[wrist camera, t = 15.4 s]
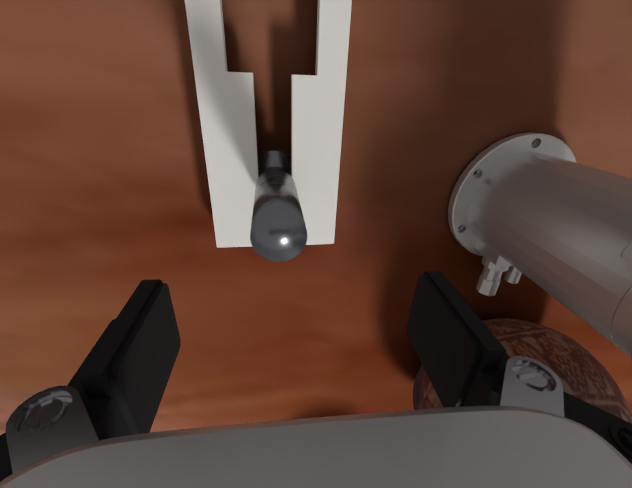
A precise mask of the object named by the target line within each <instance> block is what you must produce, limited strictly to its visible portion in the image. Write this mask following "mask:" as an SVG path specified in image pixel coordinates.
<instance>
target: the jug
mask: <svg viewBox="0 0 632 488" xmlns="http://www.w3.org/2000/svg"><path fill="white" fill-rule="evenodd" d="M482 322H483V323H484V324H485V325H486V326H487V328H488V329H489V330H490V331H491V332H492V333H493V335H494V336H495V337H496V338H497V339H498V341H499V342H500V343H501V344H502V345H503V347H504V348H505V349H506V353H507V354H508V355H509V356H510V358H512V357H515V356H523V357H528V358H532V359H535V360H537V361H539V362H541V363H543V364H544V365H546V366H547V367H549V368H550V369H551V370H552V371H553V372H554V373H555V374H556V375H557V376H558V377H559V379H560V380H561V382H562V386H563V391H564V392H566V393H568V394H571V395H573V396H575V397H577V398H579V399H581V400H583V401H585V402H587V403H589V404H592V405H594V406H596V407H598V408H600V409H602V410H604V411H606V412H608V413H610V414H612V415H615V416H617V417H619V418H621V419H623V420H625V421H627V422H629V423H631V424H632V417H631V414H630V411H629V408H628V405H627V402H626V400H625V398H624V396H623V394H622V393H621V391H620V389H619V387H618V385H617V384H616V382H615V381H614V380H613V378H612V377H611V375H610V374H609V373H608V371H607V370H606V369H605V367H604V366H603V365H602V364H601V363H600V362H599V361H598V360H597V359H596V358H595V357H594V356H593V355H592V354H591V353H589V352H588V351H587V350H586V349H585V348H583V347H582V346H581V345H580V344H578V343H577V342H576V341H575V340H573V339H571V338H570V337H568V336H566V335H564V334H562V333H560V332H558V331H556V330H553V329H551V328H549V327H546V326H543V325H540V324H536V323H532V322H529V321H525V320H516V319H490V320H483V321H482ZM413 403H414V410H419V409H432V408H444V407H443V405H442V404H441V402H440V400H439V398H438V396H437V394H436V392H435V390H434V388H433V386H432V384H431V382H430V380H429V378H428V376H427V374H426V372H425V370H424V368H423V366H422V364H421V366H420V369H419V371H418V373H417V375H416V379H415V382H414V388H413Z"/></svg>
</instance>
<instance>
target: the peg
mask: <svg viewBox="0 0 632 488" xmlns="http://www.w3.org/2000/svg"><path fill="white" fill-rule="evenodd" d="M257 156H258V176H259V178H258V180H257V182H256V188H255V196H254V205H253V214H252V223H251V232H250V240H251V244H252V247H253V248H254V250H255V251H256V252H257V253H258V254H259V255H260V256H261V257H263V258H265V259H267V260H270V261H276V262H281V261H287V260H290V259H292V258H294V257H296V256H297V255H298V254H299V253H300V252H301V251H302V250H303V249H304V247H305V245H306V242H307V229H306V225H305V221H304V217H303V213H302V209H301V205H300V201H299V197H298V193H297V189H296V185H295V182H294V180H293V178H292V177H291V154H290V153H288V152H287V151H285V150H282V149H278V148H269V149H266V150H263V151H261V152H260V153H258V154H257Z"/></svg>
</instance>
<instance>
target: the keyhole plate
mask: <svg viewBox="0 0 632 488" xmlns="http://www.w3.org/2000/svg"><path fill="white" fill-rule="evenodd" d="M351 4H352V0H318V8H317V39H316V70H315V75H291V177H292V178H293V180H294V182H295V185H296V189H297V193H298V197H299V201H300V205H301V209H302V213H303V217H304V221H305V225H306V229H307V242H306V245H312V244H334V235H335V221H336V208H337V194H338V181H339V167H340V154H341V140H342V126H343V113H344V99H345V86H346V72H347V59H348V45H349V32H350V18H351ZM185 6H186V14H187V22H188V29H189V37H190V45H191V52H192V60H193V68H194V75H195V83H196V91H197V98H198V106H199V114H200V121H201V129H202V137H203V144H204V152H205V160H206V167H207V175H208V183H209V190H210V198H211V206H212V213H213V221H214V229H215V236H216V244H217V247H248V246H252V244H251V240H250V232H251V223H252V214H253V205H254V196H255V188H256V182H257V180H258V178H259V176H258V156H257V137H256V117H255V98H254V78H253V73H246V72H228V69H227V58H226V46H225V34H224V23H223V11H222V0H185Z"/></svg>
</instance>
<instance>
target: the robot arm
mask: <svg viewBox="0 0 632 488" xmlns="http://www.w3.org/2000/svg"><path fill="white" fill-rule="evenodd" d="M448 223H449V226H450V230H451V232H452V234H453V236H454V238H455V239H456V240H457V241H458V242H459V243H460V244H461V245H462V246H463V247H464V248H465V249H467V250H468V251H469V252H471V253H473V254H476V255H478V256H483V259H482V264H483V265H484V269H483V272H482V273H481V274H480V277H479V280H478V283H477V286H476V290H477V291H478V292H479V293H481V294H483V295H487V296H494V295H495V294H496V291H497V289H498V286H499V284H500V281H501V275H502V273H503V272H505V271H506V273H505V276H504V280H505V281H507V282H509V283H512V284H517V283H518V281H519V279H520V277H521V274H522V273H523V274H524V275H525V276H527V277H528V278H529V279H531V280H532V281H533V282H534V283H536V284H537V285H538V286H540V287H541V288H542V289H543V290H545V291H546V292H547V293H549V294H550V295H551V296H552V297H554V298H555V299H556V300H558V301H559V302H560V303H561V304H563V305H564V306H565V307H567V308H568V309H569V310H570V311H572V312H573V313H574V314H576V315H577V316H578V317H579V318H581V319H582V320H583V321H585V322H586V323H587V324H588V325H590V326H591V327H592V328H594V329H595V330H596V331H598V332H599V333H600V334H601V335H603V336H604V337H605V338H607V339H608V340H609V341H610V342H612V343H613V344H614V345H616V346H617V347H618V348H619V349H621V350H622V351H623V352H625V353H626V354H627V355H629V356H630V357H631V358H632V178H628V177H625V176H621V175H618V174H614V173H611V172H607V171H604V170H600V169H597V168H593V167H589V166H586V165H582V164H579V163H576V159H575V156H574V154H573V152H572V151H571V149H570V147H569V146H568V145H566V144H565V143H564V142H563V141H562V140H560V139H558V138H556V137H554V136H551V135H547V134H543V133H534V132H527V133H519V134H515V135H512V136H509V137H506V138H503V139H501V140H499V141H498V142H496V143H494V144H492V145H490V146H489V147H488V148H486V149H485V150H484V151H482V152H481V153H480V154H479V155H478V156H477V157H476V158H475V159H474V160H473V161H472V162H471V163H470V164H469V165H468V166H467V167H466V169H465V170H464V171H463V173H462V174H461V175H460V177H459V179H458V181H457V183H456V185H455V186H454V189H453V191H452V194H451V197H450V201H449V207H448ZM407 335H408V338H409V340H410V342H411V344H412V346H413V348H414V350H415V352H416V354H417V356H418V358H419V360H420V362H421V364H422V366H423V368H424V370H425V372H426V374H427V376H428V378H429V380H430V382H431V384H432V386H433V388H434V390H435V392H436V394H437V396H438V398H439V400H440V402H441V404H442V405H443V407H444V408H432V409H419V410H406V411H393V412H379V413H366V414H354V415H342V416H329V417H317V418H305V419H293V420H281V421H269V422H257V423H246V424H235V425H223V426H212V427H200V428H190V429H180V430H171V431H161V432H151V433H149V432H150V429H151V427H152V424H153V421H154V418H155V415H156V413H157V410H158V407H159V404H160V402H161V399H162V396H163V393H164V391H165V388H166V385H167V382H168V380H169V377H170V374H171V371H172V368H173V366H174V363H175V360H176V357H177V355H178V352H179V349H180V336H179V331H178V327H177V323H176V318H175V314H174V310H173V305H172V301H171V297H170V292H169V288H168V285H167V284H166V283H162V281H161V280H142V281H141V282H140V284H139V285H138V287H137V288H136V290H135V291H134V293H133V294H132V296H131V297H130V299H129V300H128V302H127V303H126V305H125V306H124V308H123V309H122V311H121V312H120V314H119V315H118V317H117V318H116V319H114V320H112V321H111V323H110V324H109V325H108V327H107V328H106V330H105V331H104V332H103V334H102V335H101V337H100V338H99V340H98V341H97V343H96V344H95V346H94V347H93V349H92V350H91V352H90V353H89V354H88V356H87V357H86V359H85V360H84V362H83V363H82V365H81V366H80V368H79V369H78V371H77V372H76V374H75V375H74V376H73V378H72V379H71V381H70V382H69V384H68V385H59V386H55V387H50V388H48V389H45V390H43V391H40V392H38V393H36V394H35V395H33V396H31V397H30V398H28V399H27V400H25V401H24V402H23V403H22V404H20V405H19V406H18V407H17V408H16V409H15V410H14V412H13V413H12V414H11V415H10V417H9V419H8V421H7V423H6V429H5V432H6V433H4V434H2V435H1V436H0V488H632V424H631V423H629V422H627V421H625V420H623V419H621V418H619V417H617V416H615V415H612V414H610V413H608V412H606V411H604V410H602V409H600V408H598V407H596V406H594V405H592V404H589V403H587V402H585V401H583V400H581V399H579V398H577V397H575V396H573V395H571V394H568V393H566V392H564V391H563V386H562V382H561V380H560V379H559V377H558V376H557V375H556V374H555V373H554V372H553V371H552V370H551V369H550V368H549V367H547V366H546V365H544V364H543V363H541V362H539V361H537V360H535V359H532V358H528V357H523V356H515V357H512V358H510V356H509V355H508V354H507V353H506V349H505V348H504V347H503V345H502V344H501V343H500V342H499V341H498V339H497V338H496V337H495V336H494V335H493V333H492V332H491V331H490V330H489V329H488V328H487V326H486V325H485V324H484V323H483V322H482V320H481V319H480V318H479V317H478V316H477V314H476V313H475V312H474V311H473V310H472V308H471V307H470V306H469V305H468V304H467V302H466V301H465V300H464V299H463V298H462V296H461V295H460V294H459V293H458V292H457V290H456V289H455V288H454V287H453V286H452V284H451V283H450V282H449V281H448V280H447V278H446V277H445V276H444V275H443V274H442V273H441V272H440V271H430V272H424V273H423V275H421V276H419V278H418V282H417V286H416V290H415V295H414V299H413V303H412V307H411V312H410V316H409V320H408V325H407Z"/></svg>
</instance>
